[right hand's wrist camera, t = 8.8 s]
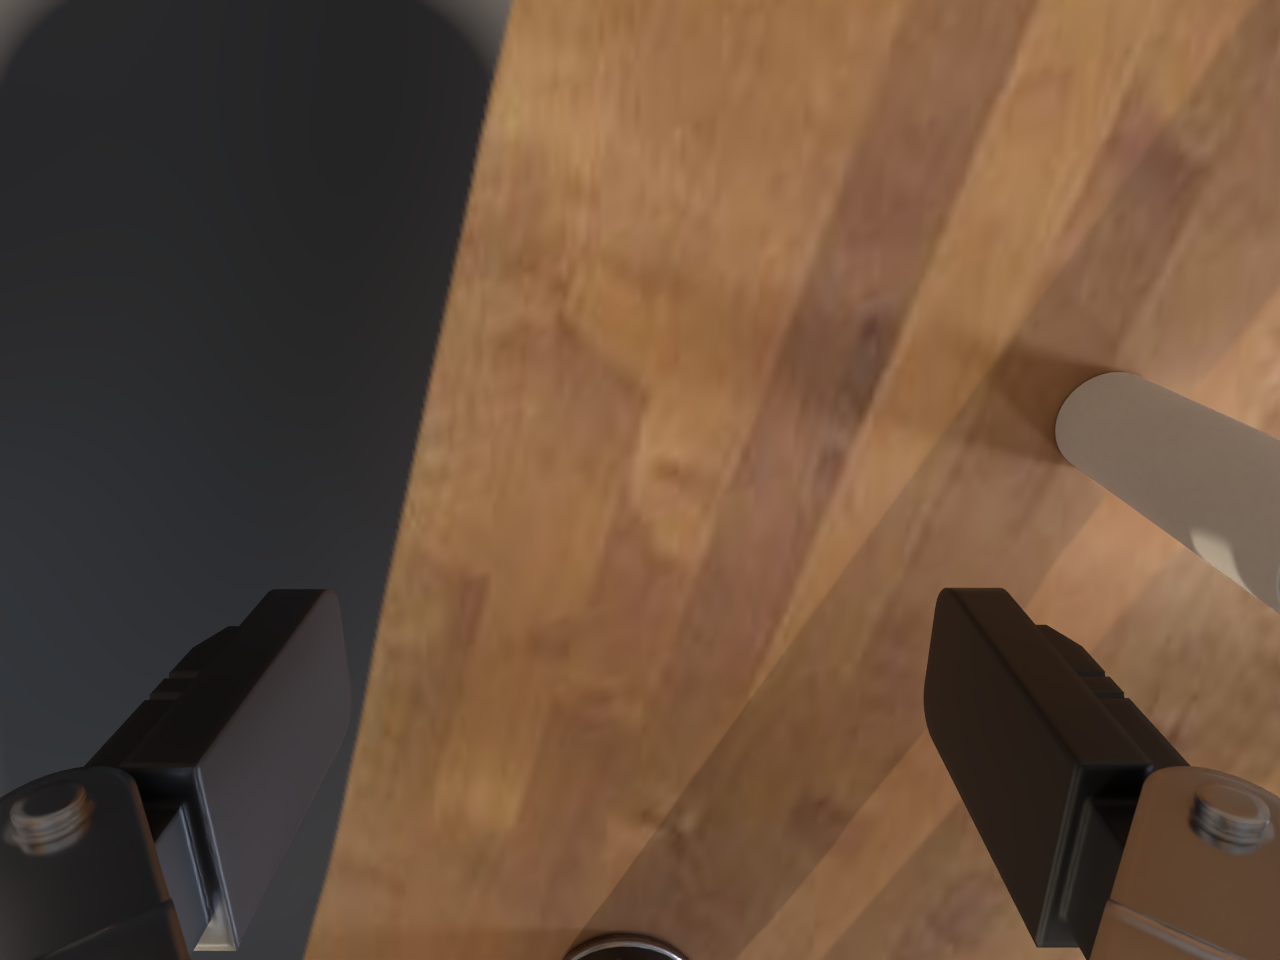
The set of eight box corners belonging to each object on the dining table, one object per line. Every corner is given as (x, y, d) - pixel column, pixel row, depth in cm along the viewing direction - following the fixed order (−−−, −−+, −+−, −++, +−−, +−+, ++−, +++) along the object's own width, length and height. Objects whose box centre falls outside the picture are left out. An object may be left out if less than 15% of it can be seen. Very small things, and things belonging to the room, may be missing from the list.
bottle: (1105, 489, 42) (1505, 779, 23) (1032, 434, 41) (1387, 688, 21) (1182, 410, 40) (1682, 647, 21) (1109, 350, 39) (1564, 542, 20)
